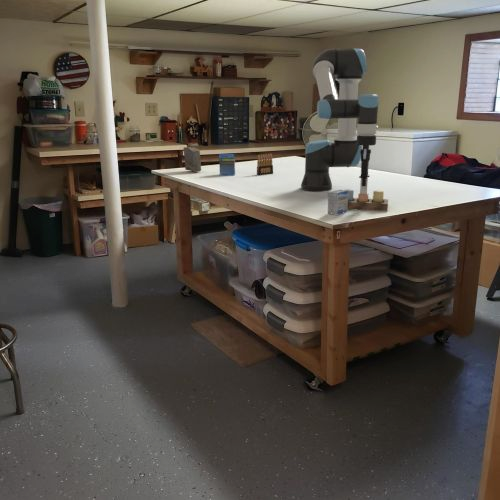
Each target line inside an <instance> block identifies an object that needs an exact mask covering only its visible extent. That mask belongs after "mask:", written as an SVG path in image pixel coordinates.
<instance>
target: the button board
mask: <svg viewBox="0 0 500 500" xmlns="http://www.w3.org/2000/svg"><path fill="white" fill-rule="evenodd" d="M388 206H389V198H388V199H387V198H386V199H384V198H383V203H380V202H373V198H368V202H358V197H353V201H348V206H347V210H352V209H357V210H356V211H373V210H374V211H377V212H388V209H389V207H388Z"/></svg>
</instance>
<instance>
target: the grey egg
mask: <svg viewBox="0 0 500 500" xmlns="http://www.w3.org/2000/svg"><path fill="white" fill-rule="evenodd" d="M346 190H347V191H348V201H353V198H354V192H355V191H354V189H346Z"/></svg>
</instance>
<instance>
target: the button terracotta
mask: <svg viewBox="0 0 500 500" xmlns="http://www.w3.org/2000/svg"><path fill="white" fill-rule="evenodd" d="M357 198H358V202H368V199H369V193H367V194H360V192H359V193H358V195H357Z"/></svg>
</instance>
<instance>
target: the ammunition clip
mask: <svg viewBox="0 0 500 500" xmlns="http://www.w3.org/2000/svg"><path fill="white" fill-rule="evenodd" d="M256 164H257V166H256V176H258V177H259V176H267V175H273V174H274V165H273V154H272V153H268V154H267V153H263V154H262V153H261V154H258V155H257V162H256Z"/></svg>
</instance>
